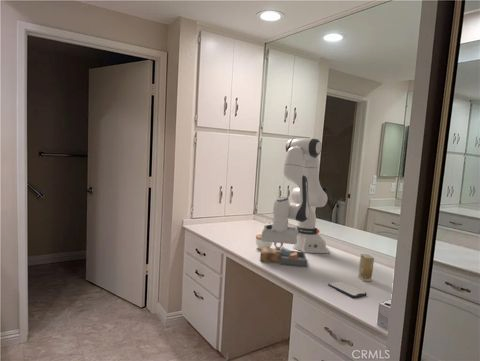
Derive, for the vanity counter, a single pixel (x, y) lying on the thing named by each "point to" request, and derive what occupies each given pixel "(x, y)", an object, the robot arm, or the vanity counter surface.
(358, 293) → the phone case
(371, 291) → the vanity counter surface
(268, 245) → the lidded jar
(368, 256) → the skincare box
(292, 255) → the tile
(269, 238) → the robot arm
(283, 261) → the tray
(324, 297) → the vanity counter surface
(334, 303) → the vanity counter surface
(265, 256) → the cardboard box
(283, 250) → the tile
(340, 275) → the vanity counter surface
